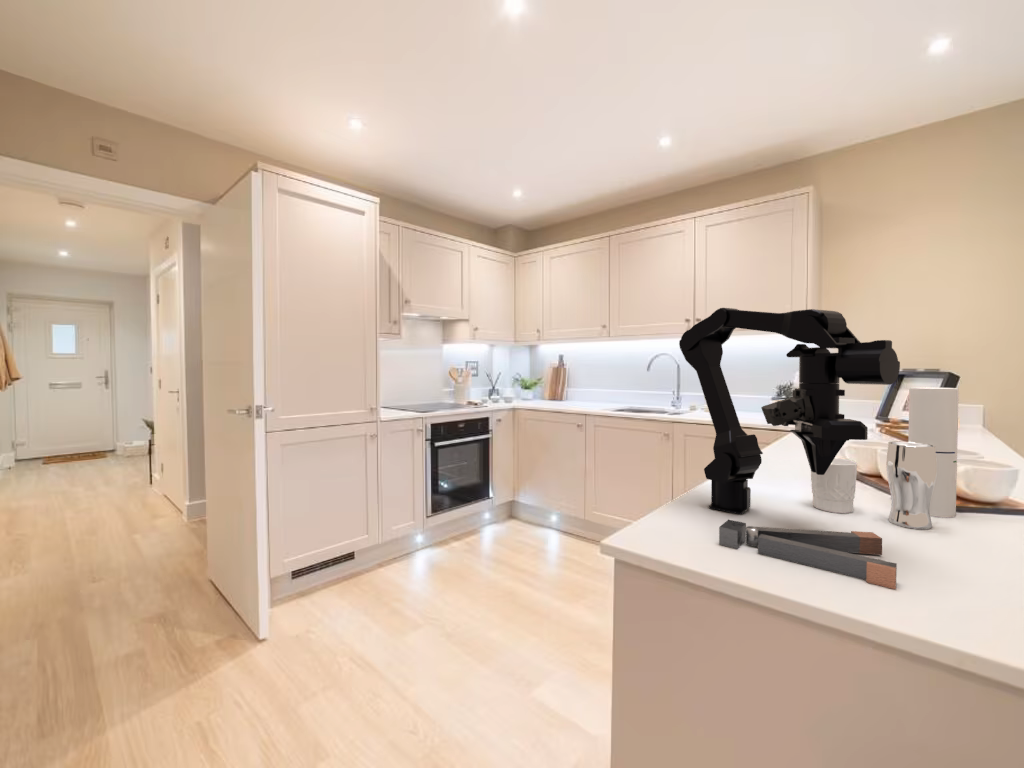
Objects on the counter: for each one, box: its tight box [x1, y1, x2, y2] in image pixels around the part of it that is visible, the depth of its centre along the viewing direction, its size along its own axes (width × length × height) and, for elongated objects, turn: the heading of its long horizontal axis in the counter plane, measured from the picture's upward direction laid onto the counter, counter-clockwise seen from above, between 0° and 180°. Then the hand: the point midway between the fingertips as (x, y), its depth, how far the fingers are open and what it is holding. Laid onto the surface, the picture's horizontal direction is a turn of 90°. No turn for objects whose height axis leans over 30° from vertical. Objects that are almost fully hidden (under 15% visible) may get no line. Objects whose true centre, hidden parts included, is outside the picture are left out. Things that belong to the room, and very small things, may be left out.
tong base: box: [718, 519, 898, 590], centre depth 68 cm, size 22×5×3 cm, turn 47°
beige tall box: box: [907, 386, 959, 519], centre depth 89 cm, size 7×7×25 cm
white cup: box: [810, 457, 858, 514], centre depth 92 cm, size 8×8×10 cm
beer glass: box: [885, 440, 937, 531], centre depth 82 cm, size 7×7×15 cm
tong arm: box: [745, 525, 883, 556], centre depth 72 cm, size 19×3×3 cm, turn 77°
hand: (817, 473), depth 77 cm, fingers closed
